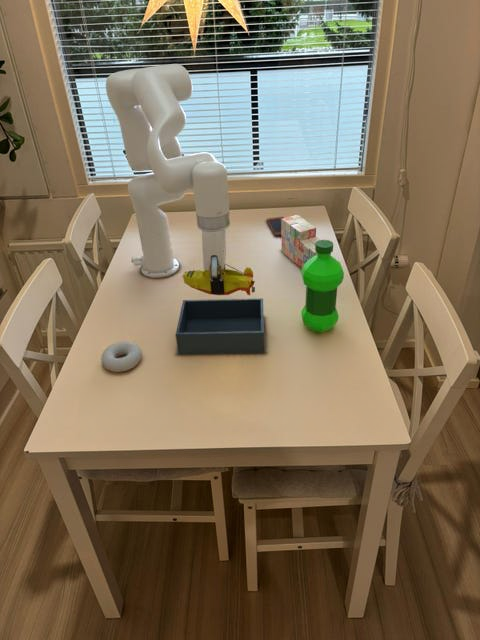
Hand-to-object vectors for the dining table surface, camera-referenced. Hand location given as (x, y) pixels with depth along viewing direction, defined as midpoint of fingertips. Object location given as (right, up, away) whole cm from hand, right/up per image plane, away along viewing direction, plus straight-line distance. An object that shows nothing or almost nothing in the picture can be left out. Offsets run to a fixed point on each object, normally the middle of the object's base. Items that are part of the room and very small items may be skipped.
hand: (218, 285), depth 119 cm
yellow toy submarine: (0, -2, +1) cm, 2 cm away
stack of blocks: (+27, +11, +40) cm, 49 cm away
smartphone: (+20, +26, +62) cm, 70 cm away
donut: (-25, -19, +2) cm, 31 cm away
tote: (+1, -13, +9) cm, 16 cm away
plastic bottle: (+27, -11, +11) cm, 31 cm away
